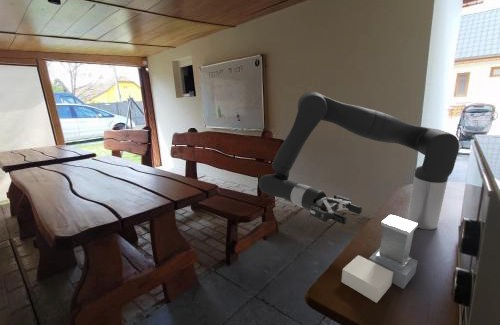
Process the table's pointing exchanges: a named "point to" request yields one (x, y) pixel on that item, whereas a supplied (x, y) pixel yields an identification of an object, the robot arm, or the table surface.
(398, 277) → the stand
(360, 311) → the table surface
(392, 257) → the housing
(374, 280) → the stand
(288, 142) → the robot arm
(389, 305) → the table surface
